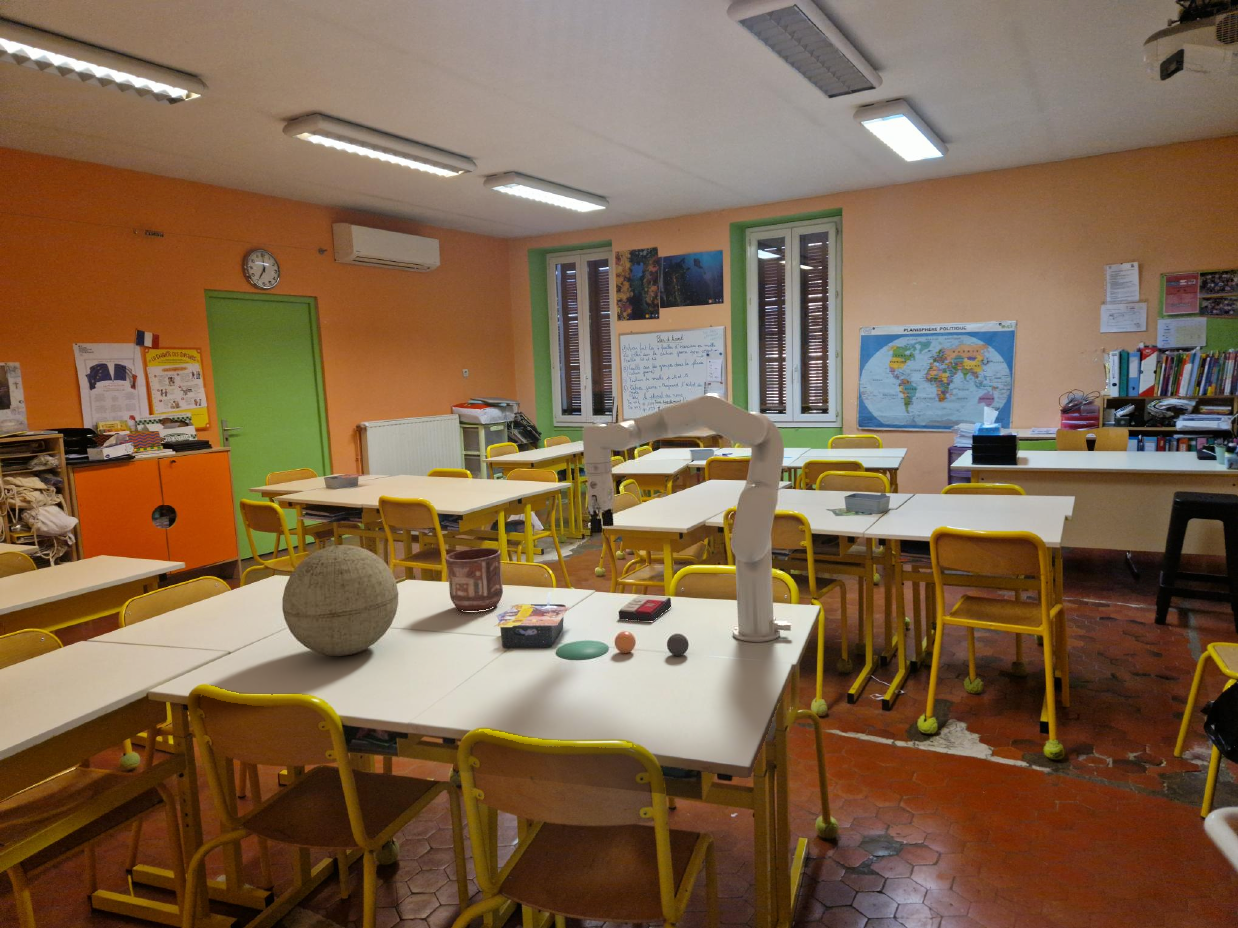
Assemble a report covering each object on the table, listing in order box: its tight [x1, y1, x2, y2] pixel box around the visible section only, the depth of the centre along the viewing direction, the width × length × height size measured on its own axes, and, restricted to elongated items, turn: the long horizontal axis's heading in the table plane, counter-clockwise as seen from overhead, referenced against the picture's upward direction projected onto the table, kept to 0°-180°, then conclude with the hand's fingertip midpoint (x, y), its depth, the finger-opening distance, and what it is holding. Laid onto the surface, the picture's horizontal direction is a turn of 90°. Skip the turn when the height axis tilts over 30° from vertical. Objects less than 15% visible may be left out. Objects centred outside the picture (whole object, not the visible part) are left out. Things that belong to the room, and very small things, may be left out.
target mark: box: [555, 640, 610, 661], centre depth 200 cm, size 14×14×1 cm
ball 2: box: [666, 633, 690, 657], centre depth 191 cm, size 6×6×6 cm
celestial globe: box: [281, 544, 399, 657], centre depth 207 cm, size 30×30×30 cm
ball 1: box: [614, 630, 637, 654], centre depth 196 cm, size 6×6×6 cm
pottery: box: [444, 547, 504, 611], centre depth 245 cm, size 18×18×18 cm
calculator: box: [618, 594, 672, 622], centre depth 228 cm, size 11×4×15 cm
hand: (602, 529), depth 211 cm, fingers open, 9 cm apart
